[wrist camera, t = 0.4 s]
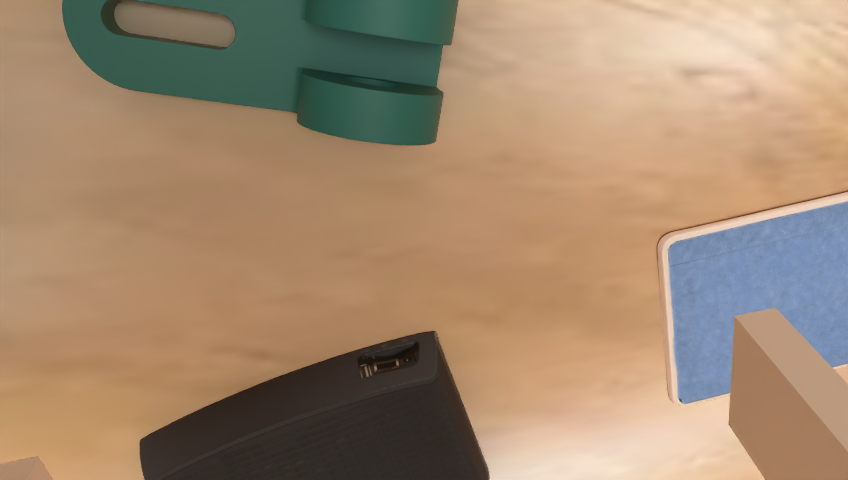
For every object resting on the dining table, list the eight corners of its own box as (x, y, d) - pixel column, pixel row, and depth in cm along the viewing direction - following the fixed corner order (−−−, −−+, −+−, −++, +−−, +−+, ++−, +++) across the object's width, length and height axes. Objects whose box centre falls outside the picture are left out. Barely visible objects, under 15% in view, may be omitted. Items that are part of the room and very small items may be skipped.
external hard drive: (491, 478, 47) (506, 520, 43) (224, 577, 46) (215, 628, 43) (430, 316, 42) (440, 347, 38) (135, 425, 42) (114, 468, 38)
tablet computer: (944, 164, 43) (962, 169, 42) (930, 337, 47) (946, 346, 46) (651, 231, 42) (660, 238, 41) (665, 402, 46) (674, 413, 45)
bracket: (443, -5, 36) (471, -7, 28) (424, 123, 38) (445, 152, 31) (79, -66, 33) (5, -87, 26) (79, 76, 35) (10, 95, 28)
